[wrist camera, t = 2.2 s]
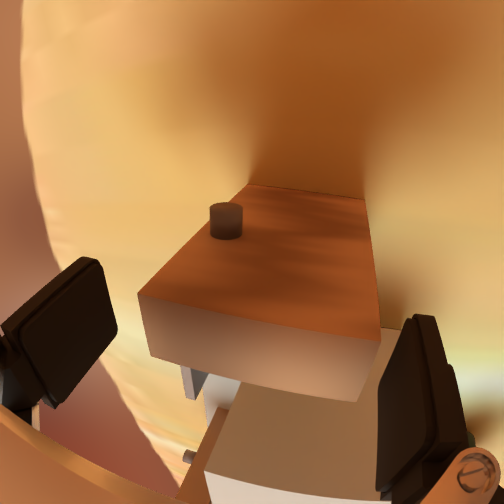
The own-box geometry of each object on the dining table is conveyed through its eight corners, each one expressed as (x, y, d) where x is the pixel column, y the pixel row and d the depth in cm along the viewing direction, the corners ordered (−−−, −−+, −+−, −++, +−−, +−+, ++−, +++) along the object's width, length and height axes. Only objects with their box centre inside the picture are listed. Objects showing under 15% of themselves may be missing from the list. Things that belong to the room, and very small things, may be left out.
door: (367, 182, 16) (392, 308, 7) (357, 242, 18) (356, 402, 8) (248, 166, 18) (131, 261, 8) (246, 225, 19) (150, 355, 10)
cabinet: (400, 330, 19) (409, 501, 9) (340, 454, 28) (321, 556, 18) (199, 294, 23) (105, 431, 12) (212, 427, 31) (169, 520, 21)
